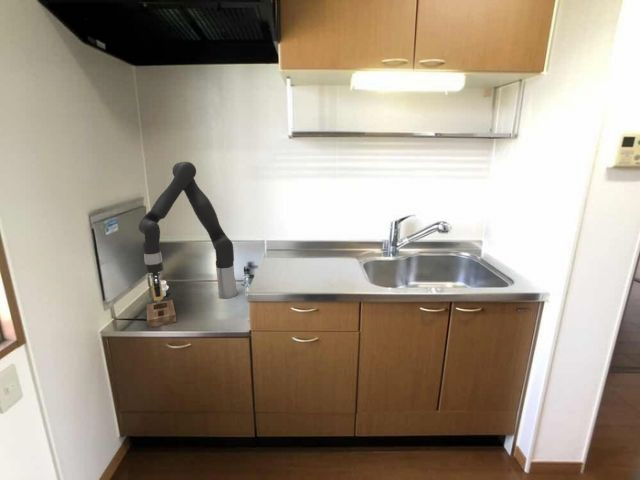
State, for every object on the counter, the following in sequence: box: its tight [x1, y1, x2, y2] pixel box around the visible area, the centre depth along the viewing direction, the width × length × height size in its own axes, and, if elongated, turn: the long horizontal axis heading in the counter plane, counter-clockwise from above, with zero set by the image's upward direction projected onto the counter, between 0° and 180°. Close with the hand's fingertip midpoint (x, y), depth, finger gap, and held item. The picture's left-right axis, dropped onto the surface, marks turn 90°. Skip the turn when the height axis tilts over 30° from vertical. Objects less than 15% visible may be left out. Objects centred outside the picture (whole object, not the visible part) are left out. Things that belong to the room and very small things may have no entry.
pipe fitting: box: [160, 280, 170, 298], centre depth 192 cm, size 6×7×8 cm
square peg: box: [151, 280, 164, 302], centre depth 170 cm, size 4×4×8 cm
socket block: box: [146, 299, 177, 329], centre depth 169 cm, size 12×18×4 cm, turn 26°
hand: (158, 294), depth 170 cm, fingers closed on square peg, 4 cm apart
